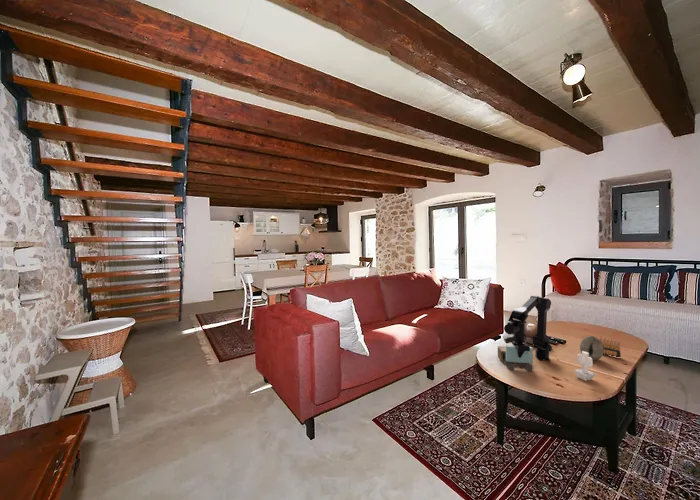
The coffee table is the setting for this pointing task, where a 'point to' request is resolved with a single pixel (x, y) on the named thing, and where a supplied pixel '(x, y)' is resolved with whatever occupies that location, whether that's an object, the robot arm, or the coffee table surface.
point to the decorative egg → (592, 347)
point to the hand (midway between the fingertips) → (518, 356)
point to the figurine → (584, 366)
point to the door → (513, 355)
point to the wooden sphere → (530, 332)
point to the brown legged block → (511, 364)
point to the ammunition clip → (611, 347)
